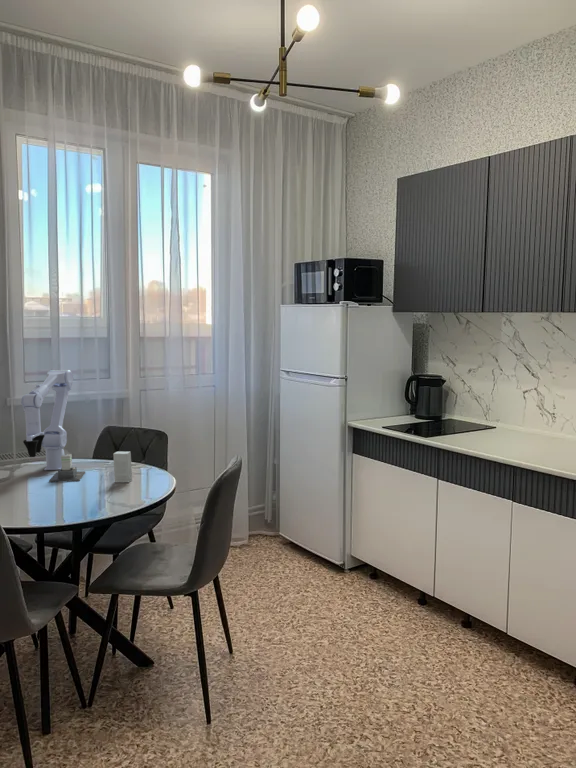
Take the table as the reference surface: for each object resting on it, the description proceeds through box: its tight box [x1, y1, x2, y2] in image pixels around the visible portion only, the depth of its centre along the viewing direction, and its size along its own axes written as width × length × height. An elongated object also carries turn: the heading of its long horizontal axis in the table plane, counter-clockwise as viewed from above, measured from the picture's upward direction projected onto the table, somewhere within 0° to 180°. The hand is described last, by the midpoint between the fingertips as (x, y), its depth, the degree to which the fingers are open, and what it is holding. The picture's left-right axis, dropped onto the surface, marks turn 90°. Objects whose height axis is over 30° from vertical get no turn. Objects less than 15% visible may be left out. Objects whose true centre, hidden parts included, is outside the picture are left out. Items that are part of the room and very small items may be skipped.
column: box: [61, 453, 73, 471], centre depth 257 cm, size 4×4×7 cm
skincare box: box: [112, 451, 133, 483], centre depth 251 cm, size 6×4×12 cm
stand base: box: [48, 466, 86, 483], centre depth 257 cm, size 12×12×4 cm
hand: (35, 454), depth 257 cm, fingers open, 7 cm apart
